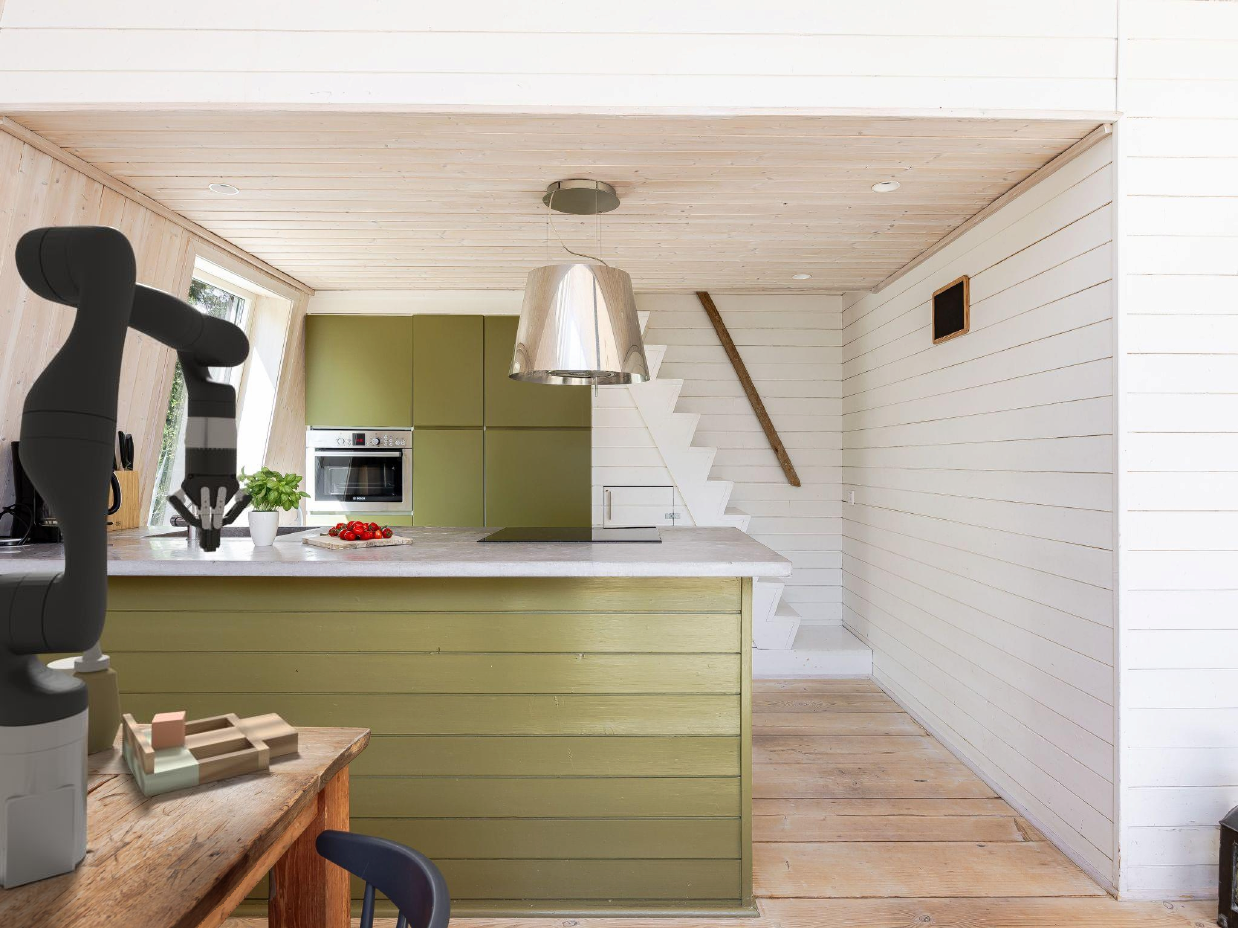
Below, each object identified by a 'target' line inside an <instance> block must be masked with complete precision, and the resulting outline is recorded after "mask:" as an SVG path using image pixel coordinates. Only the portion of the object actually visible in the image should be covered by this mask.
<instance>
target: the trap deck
mask: <svg viewBox="0 0 1238 928" xmlns="http://www.w3.org/2000/svg"><path fill="white" fill-rule="evenodd" d="M121 723H122V727H121V729H122V731H121V732H122V733H121V736H122V738H121V739H122V740H121V741H122V742H121V743H122V744H121V753H122V756H123V758H124V760H125V761H126V763H127V764H128V767H129V769H130V771H131V773H132V775H133V776H134V778H135V780H136V783H137V784H138V786H139V788H140V790H141V791H142V792H141V793H143V795H144V798H149V797H152V796H157V795H161V794H165V793H169V792H174V791H178V790H182V789H186V788H191V787H196V786H199V785H202V784H207V783H211V782H216V781H220V780H225V779H228V778H234V777H237V776H242V775H246V774H250V773H255V772H258V771H263V770H266V769H270V759H271V758H276V757H279V756H283V755H289V754H294V753H298V752H299V732H298V731H297V730H296V729H294V728H293V727H292V726H291V725H290V724H289V723H288V722H286V721H285V720H284V719H283V718H282V717H280V715H278V714H277V713H276V712H272V713H267V714H261V715H256V716H251V717H245V718H241V719H240V718H239V717H238V716H237V715H236V714H235V713H234V712H232V713H227V714H221V715H217V716H216V715H215V716H211V717H205V718H200V719H199V718H198V719H194V720H189V721H185V739H184V742H183V745H182V746H176V747H168V748H159V749H152V747H151V730H152V727H151V728H146V729H142V730H141V728H140V727H139V725H138V723H137V721H136V720H135V719H134V717H133V715H132V714H131V713H124V714H122V722H121Z"/></svg>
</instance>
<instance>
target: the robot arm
mask: <svg viewBox="0 0 1238 928" xmlns="http://www.w3.org/2000/svg"><path fill="white" fill-rule="evenodd" d="M14 259H15V266H16V268H17V272H18V274H19V276H20V278H21V280H22V281H23V283H24V284H25V285H26V286H27V287H28V289H29V290H31V292H33V294H35V295H37V296H38V297H40V298H42V299H44V300H47V301H49V302H52V303H56V304H59V305H64V306H67V307H71V308H73V309H74V308H75V309H76V313H75V318H74V321H73V325H72V328H71V330H70V333H69V335H68V336H67V339H66V340H65V342H64V344H63V345H62V346H61V347H60V348H59V350H58V352H57V353H56V354H55V356H54V357H53V358H52V360H50V362H49V363H48V364H47V365H46V367H44V369H43V371H42V372H41V373H40V375H39V376H38V377H37V379H36V380H35V381H34V382H33V384H32V386H30V389H29V391H28V392H27V395H26V396H25V400H24V403H23V407H22V413H21V419H20V420H21V421H20V422H21V423H20V429H19V440H18V441H19V442H18V458H19V460H20V464H21V466H22V468H23V470H24V472H25V474H26V476H27V477H28V479H29V480H30V483H31V484H32V485H33V487H34V488H35V491H37V493H38V494H39V496H40V497H41V498H42V500H43V502H44V503H45V505H46V506H47V507H48V509H49V511H50V512H51V514H52V515H53V517H54V519H55V521H56V523H57V526H58V528H59V531H60V533H61V537H62V542H63V549H64V571H34V572H33V571H30V572H29V571H28V572H26V571H25V572H22V571H21V572H20V571H19V572H10V573H4V574H1V575H0V885H2V886H3V888H4V889H5V890H6V889H11V888H15V887H18V886H21V885H25V884H30V883H33V882H37V881H40V880H44V879H47V878H51V877H54V876H58V875H61V874H65V873H69V872H72V871H74V870H76V865H77V864H78V863H79V862H81V861H82V860H83V859H84V858H85V856H86V855H87V851H88V850H87V845H88V844H87V843H88V841H87V840H88V838H87V837H88V756H89V755H88V705H89V689H88V686H87V684H86V683H85V682H84V681H83V680H81V679H79V678H76V677H73V676H70V675H66V674H63V673H60V672H57V671H55V670H53V669H51V668H49V667H48V666H47V665H46V664H45V663H44V662H42V661H41V660H40V659H39V656H38V655H48V654H49V655H51V654H55V655H56V654H72V653H73V654H75V653H84V652H85V651H88V650H90V649H91V648H93V647H94V646H95V645H96V643H97V642H98V641H100V638H101V636H102V635H103V630H104V627H105V624H106V618H107V610H108V607H107V606H108V517H109V505H110V503H109V502H110V493H111V486H112V485H111V484H112V474H113V465H114V458H115V451H116V450H115V449H116V448H115V447H116V441H117V437H116V436H117V428H118V427H117V426H118V408H119V405H118V404H119V392H120V391H119V390H120V381H121V380H120V379H121V372H122V365H123V364H122V363H123V357H124V356H123V354H124V347H125V342H126V337H127V332H128V327H129V328H130V329H133V330H135V331H137V332H140V333H142V334H144V335H146V336H148V337H150V338H151V339H153V340H155V341H157V342H159V343H161V344H163V345H165V346H167V347H168V348H171V349H173V350H176V354H177V359H178V362H179V365H180V368H181V371H182V376H183V379H184V382H185V387H186V392H187V419H186V425H185V426H186V427H185V434H184V435H185V438H184V441H183V442H184V478H183V480H182V482H181V484H180V488H179V489H178V490H177V491H175V492H174V493H173V494H167V495H166V497H165V498H166V499H165V500H166V501H167V502H168V503H169V504H170V506H171V507H172V508H173V509H174V510H175V511H176V513H177V514H179V516H180V517H181V518H182V519H183V520H184V521H185V523H186V524H188V525H190V526H194V527H196V528H197V529H198V530H199V533H198V536H199V538H198V543H199V544H198V545H199V548H200V549H202V550H203V552H204V553H215V552H216V551H217V549H219V548H220V547H221V530H222V528H224V527H225V526H229V525H232V524H233V523H234V522H235V521H236V520H237V518H239V517H240V515H241V514H242V513H243V511H244V510H245V509H246V508H247V507H248V506H249V505H250V503H251V502H252V501H253V499H254V497H253V495H252V494H251V493H247V492H246V491H245V490H243V489H242V488H241V487H240V486H241V484H240V482H239V480H238V478H237V477H238V475H237V473H238V472H237V471H238V467H237V466H238V430H237V429H238V427H237V419H236V417H237V391H236V388H235V387H234V386H233V385H232V384H231V383H228V382H223V381H220V380H219V381H218V380H215V379H213V377H212V375H211V372H210V371H209V368H236V367H238V366H240V365H242V364H243V363H244V362H245V361H246V360H247V359H248V356H249V354H250V342H249V339H248V337H247V335H246V333H245V331H244V330H242V328H241V327H239V326H238V325H237V324H235V323H233V322H231V321H229V320H226V319H224V318H220V317H218V316H215V315H212V314H208V313H205V312H203V311H199V310H198V309H197V308H195V307H194V306H192V305H191V304H189V303H187V302H186V301H185V300H183V299H182V298H179V297H178V296H176V295H174V294H172V293H170V292H167V291H165V290H162V289H158V288H156V287H153V286H149V285H145V284H142V283H140V282H139V283H138V282H137V274H138V273H137V272H138V271H137V260H136V256H135V251H134V249H133V246H132V244H131V242H130V240H129V238H128V237H127V236H126V235H125V233H123V232H122V231H120V230H119V229H117V228H115V227H113V226H110V225H109V226H108V225H100V224H98V225H93V224H91V225H90V224H88V225H56V226H43V227H37V228H34V229H31V230H29V231H27V232H25V233H24V234H22V236H21V237H20V238H19V239H18V242H17V243H16V246H15V251H14ZM185 496H186V497H187V498H188V500H189V501H190V502H191V503H192V504H193V505H194V507H196V513H197V518H196V516H195V515H194V514H193V513H192V512H191V511H190V509H189V508H188V507H187V506H186V505H185V503H187V502H186V501H187V500H186V497H185ZM234 496H235V497H234ZM233 498H234V502H235V503H234V504H232V506H231V507H230V508H229V509H228V511H227V512H226V513H224V512H225V506H227V505H228V504H229V503H230V502H231V500H232V499H233Z"/></svg>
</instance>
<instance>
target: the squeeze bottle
mask: <svg viewBox="0 0 1238 928" xmlns="http://www.w3.org/2000/svg"><path fill="white" fill-rule="evenodd" d="M99 641H100V640H99ZM99 641H98V642H97V643H96V645H95V646H94V647H93V648H91V649H90V650H88V651H85V652H82V653H83V654H82V656H83V657H80V656H79V657H80V658H77V659H76V660H75V661H74V670H75V671H76V672H73V673H72V674H70V676H73V677H76V678H79V679H81V680H83V681H84V682H85V683H86V684H87V686H88V689H89V705H88V754H94V753H98V752H101V751H105V750H108V749H109V748H111V747H112V746H113V745H114V743H115V740H116V736H117V734H118V732H119V730H120V728H121V727H120V726H121V723H122V722H123V719H122V713H121V712H122V711H121V710H122V709H121V701H120V693H119V684H118V673H117V671H116V670H114V669H113V668H111V667H110V666H111V662H110V660H111V657H110V656H109V655H108V654H107V655H106V654H103V653H102V650H101V646H100V642H99Z"/></svg>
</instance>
